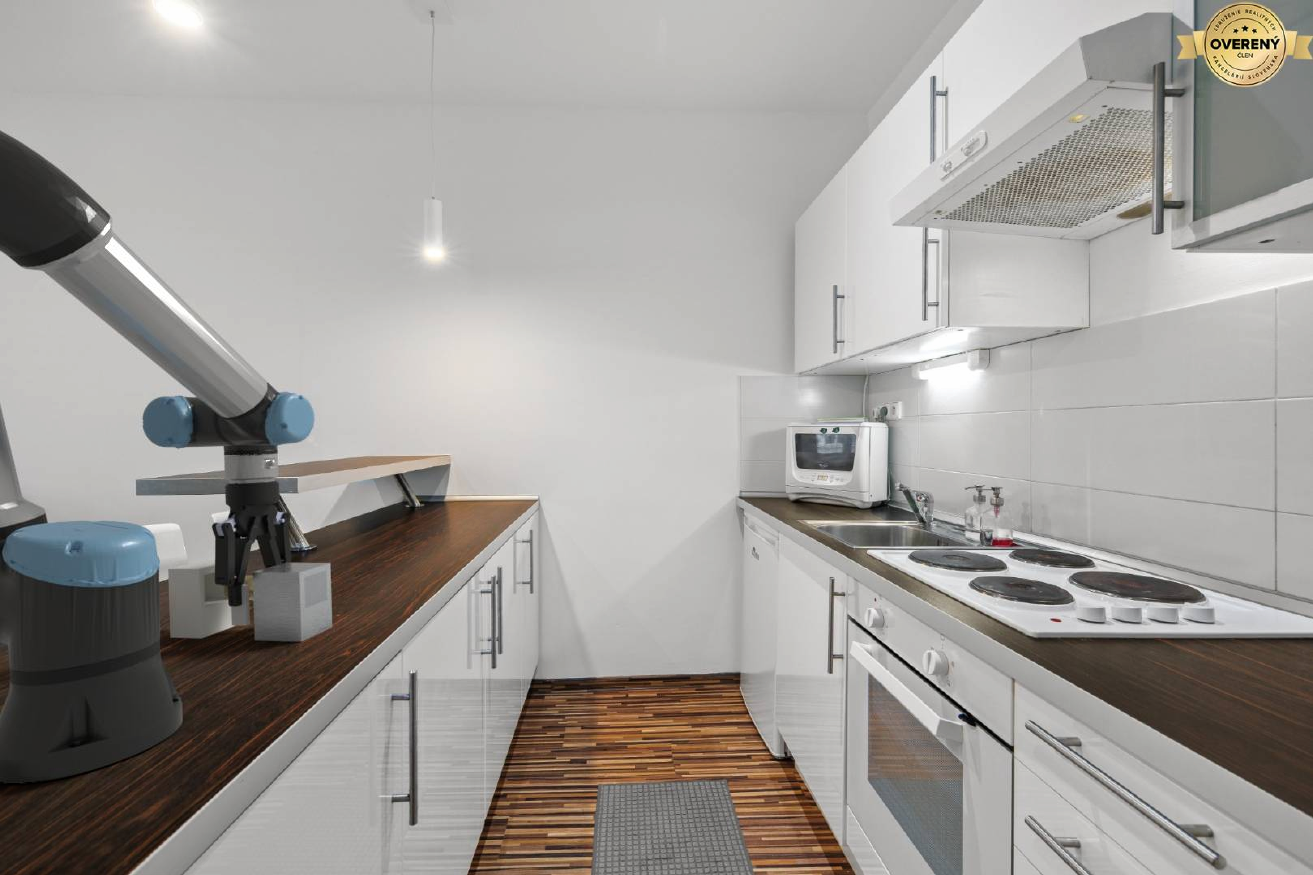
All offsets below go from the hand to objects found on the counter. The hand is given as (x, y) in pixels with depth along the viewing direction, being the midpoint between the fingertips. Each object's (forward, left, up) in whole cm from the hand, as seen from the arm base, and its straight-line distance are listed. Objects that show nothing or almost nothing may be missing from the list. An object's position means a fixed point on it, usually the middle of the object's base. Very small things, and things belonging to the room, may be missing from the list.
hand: (257, 618), depth 100 cm
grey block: (0, -7, -2) cm, 7 cm away
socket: (0, +10, -2) cm, 10 cm away
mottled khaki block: (0, -3, +3) cm, 4 cm away
